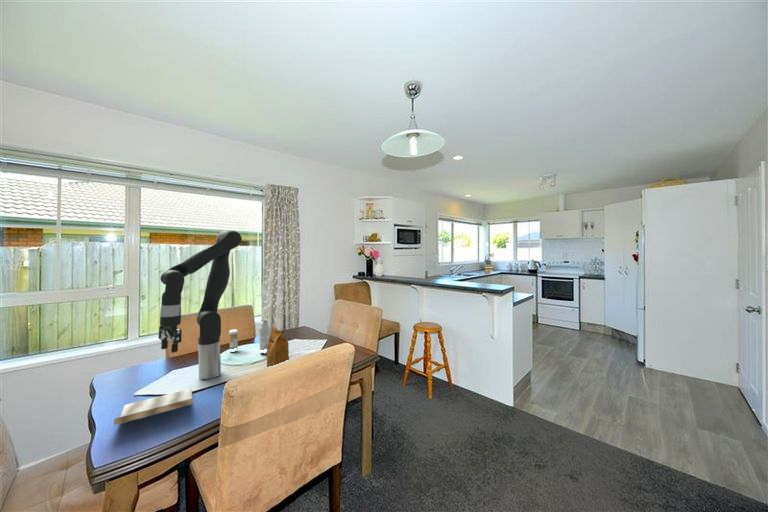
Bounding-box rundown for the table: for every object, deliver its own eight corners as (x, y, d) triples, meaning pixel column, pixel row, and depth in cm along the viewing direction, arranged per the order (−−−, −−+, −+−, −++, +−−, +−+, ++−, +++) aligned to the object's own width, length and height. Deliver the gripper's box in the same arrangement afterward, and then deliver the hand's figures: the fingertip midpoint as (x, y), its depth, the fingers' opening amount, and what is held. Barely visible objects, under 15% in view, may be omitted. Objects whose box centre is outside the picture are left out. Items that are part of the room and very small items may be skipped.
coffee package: (282, 362, 157) (282, 324, 156) (291, 370, 147) (290, 329, 147) (264, 367, 150) (263, 327, 150) (271, 375, 141) (271, 332, 140)
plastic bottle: (273, 352, 173) (272, 320, 172) (265, 356, 166) (264, 323, 166) (264, 351, 175) (264, 319, 174) (256, 354, 169) (256, 322, 168)
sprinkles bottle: (228, 351, 174) (228, 330, 173) (236, 349, 177) (235, 328, 177) (231, 353, 171) (231, 331, 170) (239, 351, 174) (238, 330, 174)
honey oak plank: (192, 403, 115) (192, 398, 116) (193, 403, 106) (193, 398, 107) (119, 423, 102) (120, 417, 102) (113, 425, 93) (114, 418, 94)
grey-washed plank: (191, 392, 124) (191, 388, 124) (192, 402, 116) (192, 398, 116) (124, 409, 111) (124, 404, 111) (120, 422, 103) (120, 417, 103)
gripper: (188, 315, 125) (187, 351, 125) (171, 311, 132) (170, 345, 132) (169, 317, 119) (168, 355, 119) (152, 313, 125) (151, 350, 125)
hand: (169, 350), depth 125 cm, fingers open, 8 cm apart
